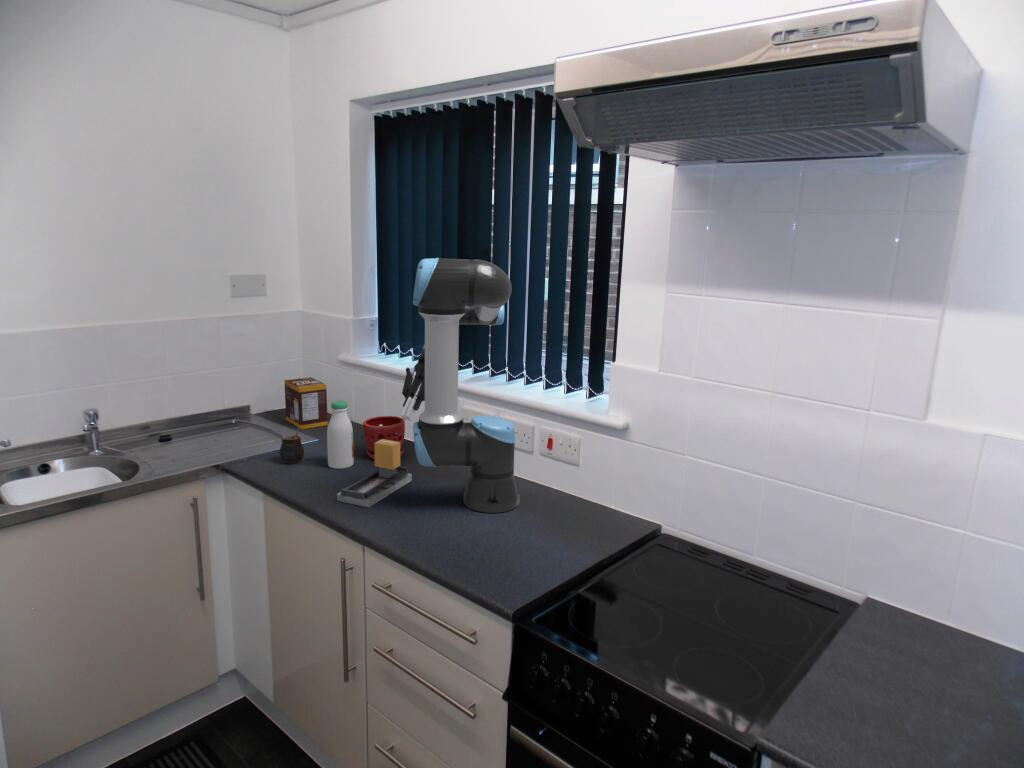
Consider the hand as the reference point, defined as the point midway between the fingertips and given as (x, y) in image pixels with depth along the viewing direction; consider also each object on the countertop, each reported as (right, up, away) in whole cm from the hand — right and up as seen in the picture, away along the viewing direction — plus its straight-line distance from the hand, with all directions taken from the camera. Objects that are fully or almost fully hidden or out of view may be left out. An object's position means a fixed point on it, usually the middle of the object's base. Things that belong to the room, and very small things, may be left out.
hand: (406, 417), depth 197 cm
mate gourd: (-37, -14, +10) cm, 41 cm away
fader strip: (-7, -20, -11) cm, 23 cm away
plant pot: (-10, -13, +18) cm, 24 cm away
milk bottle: (-21, -15, +8) cm, 27 cm away
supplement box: (-45, -5, +52) cm, 69 cm away
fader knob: (-4, -16, -6) cm, 18 cm away
